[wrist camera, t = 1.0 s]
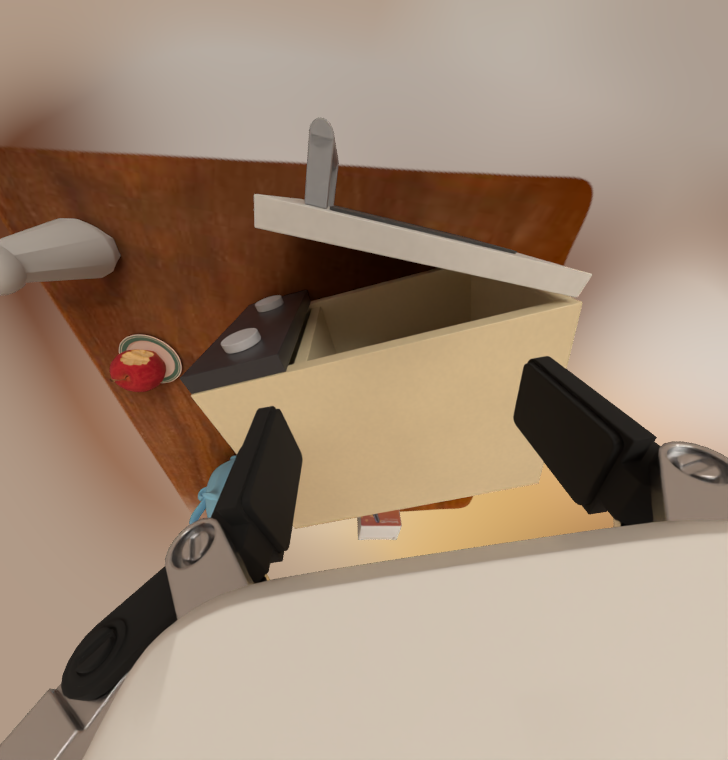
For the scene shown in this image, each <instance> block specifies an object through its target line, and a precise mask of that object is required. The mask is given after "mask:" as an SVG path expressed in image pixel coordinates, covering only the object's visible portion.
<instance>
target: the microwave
mask: <svg viewBox="0 0 728 760" xmlns="http://www.w3.org/2000/svg"><path fill="white" fill-rule="evenodd" d="M581 307H582V302H581V301H578V300H576V299H573V298H571V297H569V296H566V295H562V294H557V293H553V292H548V291H544V290H539V289H534V288H530V287H525V286H521V285H516V284H511V283H507V282H502V281H498V280H493V279H488V278H484V277H479V276H475V275H470V274H465V273H461V272H456V271H452V270H447V269H442V268H436V269H433V270H429V271H425V272H421V273H417V274H413V275H410V276H406V277H402V278H398V279H394V280H390V281H387V282H383V283H379V284H375V285H371V286H367V287H364V288H360V289H356V290H352V291H348V292H344V293H341V294H337V295H333V296H329V297H325V298H322V299H318V300H314V301H311V300H310V298H309V295H308V292H307V290H304V291H300V292H296V293H293V294H289V295H285V296H281V295H275V296H271V297H267V298H265V299H262V300H260V301H258V302H257V303H255V304H251V305H249V306H248V307H247V308H246V309H245V310H244V311H243V312H242V313H241V314H240V315H239V317H238V318H237V319H236V320H235V321H234V322H233V323H232V324H231V325H230V326H229V327H228V328H227V329H226V330H225V331H224V332H223V333H222V334H221V335H220V336H219V338H218V339H217V340H216V341H215V342H214V343H213V344H212V345H211V346H210V347H209V348H208V349H207V350H206V351H205V352H204V353H203V354H202V355H201V356H200V358H199V359H198V360H197V361H196V362H195V363H194V364H193V365H192V366H191V367H190V368H189V369H188V370H187V371H186V372H185V373H184V374H183V375H182V376H181V377H180V380H181V381H182V382H183V383H184V385H185V386H186V387H187V389H188V390H189V391H190V392H191V394H192V395H191V397H192V398H193V399H194V401H195V402H196V403H197V404H198V406H199V407H200V408H201V410H202V411H203V412H204V413H205V415H206V416H207V417H208V418H209V420H210V421H211V422H212V424H213V425H214V426H215V427H216V429H217V430H218V431H219V432H220V434H221V435H222V436H223V438H224V439H225V440H226V441H227V443H228V444H229V445H230V446H231V448H232V449H233V450H234V452H235V453H236V454H237V453H238V451H239V449H240V448H241V447H242V445H243V443H244V440H245V438H246V435H247V433H248V431H249V428H250V426H251V423H252V421H253V418H254V416H255V414H256V411H257V410H258V409H259V408H264V407H269V406H274V407H275V408H276V409H280V410H281V412H282V414H283V416H284V418H285V420H286V422H287V424H288V426H289V428H290V430H291V432H292V434H293V436H294V438H295V441H296V443H297V445H298V447H299V449H300V451H301V453H302V458H303V461H302V468H301V475H300V481H299V487H298V494H297V500H296V506H295V513H294V519H293V527H294V528H295V529H297V528H302V527H308V526H313V525H318V524H324V523H329V522H335V521H340V520H345V519H351V518H356V517H361V516H367V515H372V514H377V513H383V512H388V511H394V510H399V509H404V508H410V507H415V506H420V505H426V504H431V503H436V502H442V501H447V500H453V499H458V498H463V497H469V496H474V495H479V494H484V493H490V492H495V491H501V490H506V489H512V488H517V487H522V486H528V485H533V484H538V483H539V480H540V476H541V472H542V467H543V463H544V462H543V460H542V459H541V458H540V456H539V455H538V454H537V452H536V451H535V450H534V449H533V447H532V446H531V445H530V443H529V442H528V441H527V439H526V438H525V437H524V435H523V434H522V433H521V432H520V430H519V429H518V428H517V426H516V425H515V423H514V420H513V415H514V410H515V405H516V400H517V396H518V391H519V386H520V381H521V376H522V371H523V367H524V365H525V364H527V363H528V361H529V360H530V359H533V358H538V357H544V356H549V357H551V358H552V359H554V360H555V361H556V362H558V363H559V364H560V365H562V366H563V367H564V368H566V369H567V365H568V360H569V356H570V352H571V348H572V344H573V340H574V336H575V332H576V327H577V323H578V319H579V315H580V311H581Z"/></svg>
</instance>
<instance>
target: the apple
mask: <svg viewBox="0 0 728 760" xmlns="http://www.w3.org/2000/svg"><path fill="white" fill-rule="evenodd" d="M181 371H182V364H181V361H180V358H179V356H178V355H177V353H176V352H175V351H174V350H173V349H172V348H171V347H170V346H169V345H167V344H166V343H165V342H163V341H161V340H159V339H157V338H155V337H152V336H148V335H139V334H138V335H131V336H129V337H126V338H125V339H124V340H122V342H121V343H120V345H119V355H117V356H116V357H115V359H114V360H113V361H112V363H111V365H110V375H111V377H112V379H110V381H112V382H114V381H115V383H116V384H118V385H119V386H120V387H122V388H124V389H126V390H129V391H134V392H145V391H149V390H151V389H153V388H155V387H157V386H158V385H159V384H160V383H167V382H171V381H173V380H175V379H177V378H178V377H179V375H180V374H181Z"/></svg>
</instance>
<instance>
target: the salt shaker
mask: <svg viewBox="0 0 728 760" xmlns="http://www.w3.org/2000/svg"><path fill="white" fill-rule="evenodd" d="M120 256H121V255H120V253H119V251H118V248H117V246H116V244H115V241H114V239H113V238H112V237H110V236H109V235H107V234H106V233H104V232H103V231H101V230H100V229H98V228H96V227H95V226H93V225H90V224H88V223H86V222H83V221H81V220H79V219H68V218H59V219H56V220H53V221H50V222H47V223H44V224H41V225H39V226H36V227H33V228H30V229H27V230H24V231H21V232H18V233H16V234H13V235H10V236H7V237H4V238H1V239H0V296H1V295H9V294H11V293H14V292H16V291H18V290H20V289H21V288H23V287H24V286H25V285H26V283H27V282H43V281H59V280H75V279H92V278H103V277H104V276H106V275H108V274H110V273H111V272H113V271H114V268H115V266H116V263H117V261H118V260H119V258H120Z"/></svg>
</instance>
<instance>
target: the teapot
mask: <svg viewBox="0 0 728 760" xmlns="http://www.w3.org/2000/svg"><path fill="white" fill-rule="evenodd" d="M236 456H237V455H236ZM236 456H232V457H231V458H230V461H227V462H225V463H223V464H222V465H220V466H219V467H218V468H217V469H216V470H215V471H214V472H213V473H212V475H211V477H210V479H209V482H208V485H207V487H204V488H202V489H201V490H200V491H199V493H198V499H199V500H200V501H201V503H200V504H199V505H198V506H197V508H196V509H195V510H194V512H193V514H192V515H191V518H190V521H189V524H192V523H193V522H195V521H197V520H198V519H199V518H200V516H201V514H202V513H203V512H204V510H205V509H206V511H207V517H208V518H211V515H212V513H213V511H214V508H215V506H216V504H217V501H218V499H219V496H220V494H221V492H222V489H223V487H224V484H225V482H226V480H227V477H228V475H229V473H230V470H231V468H232V465H233V463H234V461H235V458H236Z"/></svg>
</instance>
